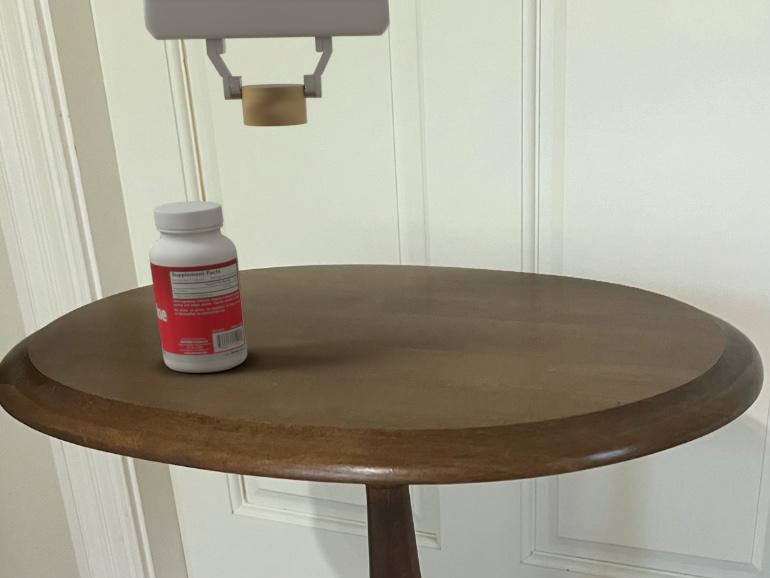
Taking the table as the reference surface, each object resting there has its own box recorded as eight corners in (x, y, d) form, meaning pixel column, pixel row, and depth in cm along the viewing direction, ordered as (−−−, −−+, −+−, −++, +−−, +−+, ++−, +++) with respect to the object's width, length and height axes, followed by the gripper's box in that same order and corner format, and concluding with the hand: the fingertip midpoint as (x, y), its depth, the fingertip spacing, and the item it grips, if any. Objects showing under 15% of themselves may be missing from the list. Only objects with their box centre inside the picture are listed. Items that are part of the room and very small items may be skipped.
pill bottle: (173, 352, 83) (153, 200, 78) (253, 350, 83) (238, 198, 78) (156, 376, 78) (132, 214, 72) (241, 374, 77) (224, 211, 72)
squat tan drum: (240, 127, 91) (237, 87, 90) (247, 121, 96) (243, 84, 95) (306, 125, 92) (303, 86, 90) (308, 120, 96) (306, 83, 95)
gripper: (122, -94, 83) (146, 103, 90) (387, -98, 84) (392, 98, 90) (137, -87, 89) (158, 98, 95) (386, -91, 90) (390, 94, 96)
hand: (274, 98), depth 93 cm, fingers closed on squat tan drum, 5 cm apart
